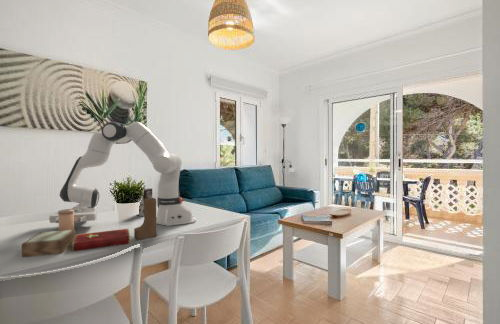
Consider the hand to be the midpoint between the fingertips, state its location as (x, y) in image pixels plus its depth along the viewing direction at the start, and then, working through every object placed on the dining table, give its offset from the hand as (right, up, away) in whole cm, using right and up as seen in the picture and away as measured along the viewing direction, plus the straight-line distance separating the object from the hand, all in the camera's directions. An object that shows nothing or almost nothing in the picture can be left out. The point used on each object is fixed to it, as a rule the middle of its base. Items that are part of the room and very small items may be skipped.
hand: (68, 220), depth 127 cm
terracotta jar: (+1, -7, -2) cm, 7 cm away
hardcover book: (+23, -8, -12) cm, 27 cm away
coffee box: (+20, -5, +41) cm, 46 cm away
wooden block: (+39, -7, -4) cm, 39 cm away
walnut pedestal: (+5, -7, -19) cm, 21 cm away
